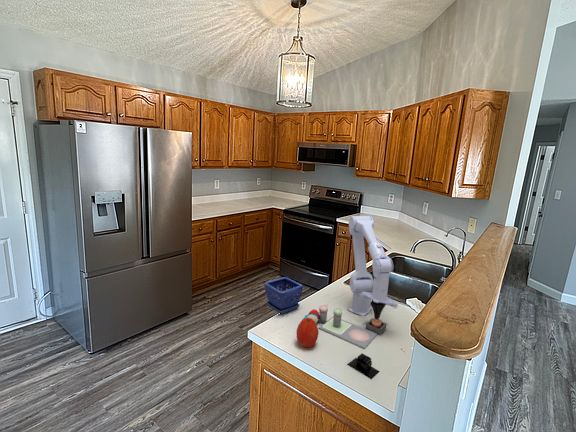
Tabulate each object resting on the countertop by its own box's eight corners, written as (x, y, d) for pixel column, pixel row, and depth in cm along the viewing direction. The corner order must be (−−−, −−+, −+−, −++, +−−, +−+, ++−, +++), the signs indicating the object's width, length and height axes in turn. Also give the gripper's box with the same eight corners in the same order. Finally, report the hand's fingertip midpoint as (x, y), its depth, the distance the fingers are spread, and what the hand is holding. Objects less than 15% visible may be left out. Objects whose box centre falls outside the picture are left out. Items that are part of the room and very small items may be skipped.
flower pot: (262, 306, 143) (263, 282, 140) (284, 298, 151) (285, 275, 148) (280, 318, 133) (281, 292, 130) (302, 309, 141) (304, 285, 139)
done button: (373, 321, 129) (374, 317, 129) (382, 324, 127) (382, 320, 127) (370, 325, 126) (370, 320, 126) (378, 328, 124) (379, 324, 124)
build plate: (342, 364, 106) (343, 352, 105) (354, 355, 111) (355, 344, 110) (374, 384, 97) (375, 372, 96) (385, 374, 102) (387, 361, 101)
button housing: (371, 323, 132) (372, 318, 131) (386, 329, 128) (386, 323, 127) (365, 329, 127) (365, 324, 126) (380, 335, 123) (380, 330, 122)
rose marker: (320, 319, 133) (321, 304, 132) (327, 321, 132) (328, 306, 130) (317, 322, 130) (318, 307, 129) (324, 325, 129) (326, 310, 127)
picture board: (333, 317, 135) (333, 315, 135) (377, 335, 123) (377, 333, 123) (318, 328, 126) (318, 327, 126) (364, 349, 114) (364, 347, 114)
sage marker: (335, 322, 130) (336, 307, 128) (342, 325, 128) (343, 310, 126) (330, 326, 127) (332, 310, 126) (338, 329, 125) (339, 313, 124)
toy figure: (316, 341, 121) (323, 316, 134) (315, 330, 119) (323, 307, 132) (297, 338, 123) (307, 314, 136) (296, 328, 121) (306, 305, 135)
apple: (312, 336, 121) (314, 311, 119) (321, 348, 113) (323, 322, 111) (293, 339, 118) (294, 313, 116) (300, 352, 111) (301, 325, 109)
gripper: (359, 285, 125) (356, 315, 127) (394, 296, 116) (391, 328, 119) (366, 279, 130) (363, 309, 133) (401, 290, 121) (397, 321, 124)
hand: (377, 318), depth 126 cm, fingers closed
